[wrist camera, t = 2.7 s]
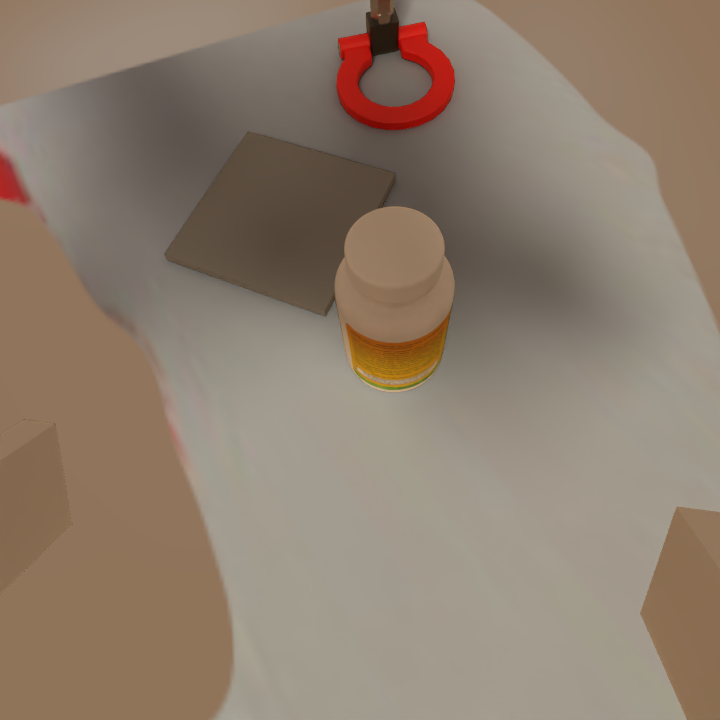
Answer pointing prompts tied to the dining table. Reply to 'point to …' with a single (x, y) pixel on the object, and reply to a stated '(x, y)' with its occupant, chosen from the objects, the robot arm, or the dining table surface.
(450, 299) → the supplement bottle
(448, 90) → the tow hook
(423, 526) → the dining table surface
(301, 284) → the coaster
